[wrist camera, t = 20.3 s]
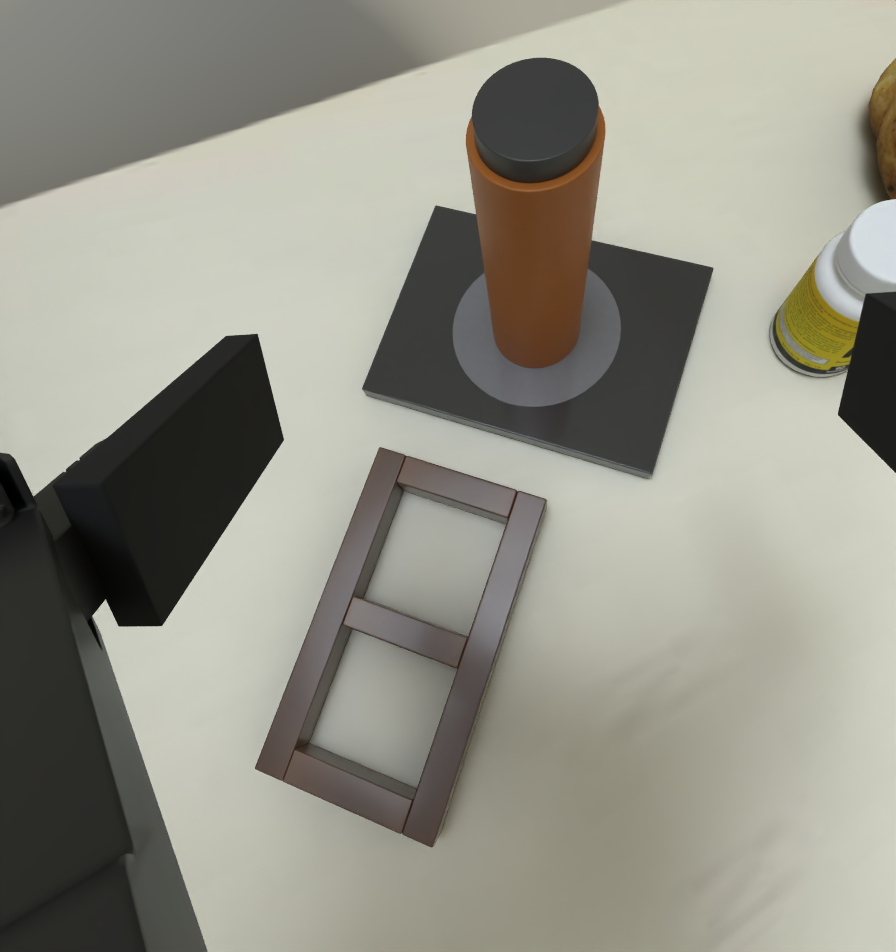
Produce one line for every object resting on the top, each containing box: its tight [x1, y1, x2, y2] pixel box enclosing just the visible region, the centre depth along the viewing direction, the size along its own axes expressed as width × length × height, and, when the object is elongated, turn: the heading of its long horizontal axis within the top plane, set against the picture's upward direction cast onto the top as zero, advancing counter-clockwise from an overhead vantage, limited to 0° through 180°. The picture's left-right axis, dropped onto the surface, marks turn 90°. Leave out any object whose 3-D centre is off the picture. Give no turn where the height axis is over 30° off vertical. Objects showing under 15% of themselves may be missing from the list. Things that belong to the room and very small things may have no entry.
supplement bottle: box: [770, 199, 896, 377], centre depth 30 cm, size 5×5×8 cm
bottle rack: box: [255, 447, 547, 847], centre depth 32 cm, size 9×16×2 cm, turn 160°
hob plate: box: [362, 206, 713, 479], centre depth 35 cm, size 16×12×1 cm
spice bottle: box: [466, 58, 605, 368], centre depth 28 cm, size 5×5×15 cm
